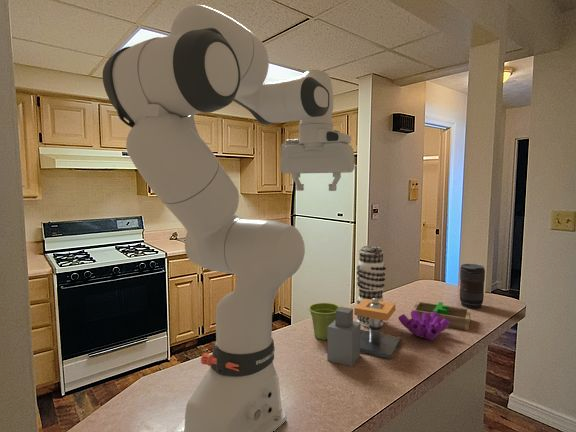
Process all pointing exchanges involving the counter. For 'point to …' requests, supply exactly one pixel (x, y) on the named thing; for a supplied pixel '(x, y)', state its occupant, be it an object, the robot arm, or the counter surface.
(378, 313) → the collar
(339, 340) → the grey stepped block
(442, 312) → the green branched piece
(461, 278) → the camera lens
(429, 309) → the open wooden box
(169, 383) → the counter surface
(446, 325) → the purple tube coral
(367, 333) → the pipe stand
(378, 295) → the decorative candle
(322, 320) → the plant pot
